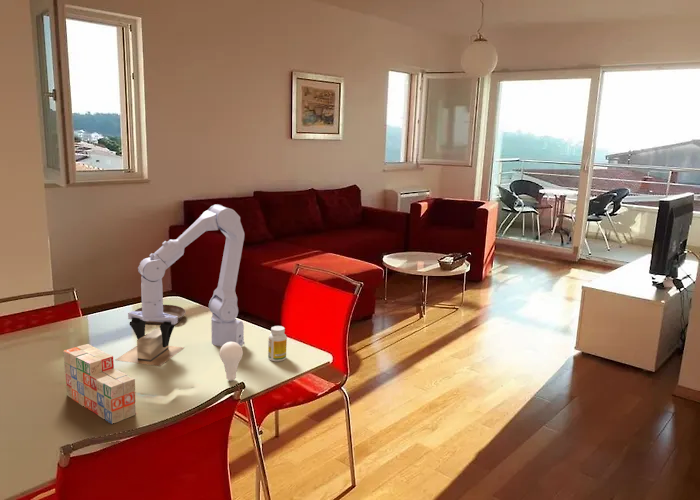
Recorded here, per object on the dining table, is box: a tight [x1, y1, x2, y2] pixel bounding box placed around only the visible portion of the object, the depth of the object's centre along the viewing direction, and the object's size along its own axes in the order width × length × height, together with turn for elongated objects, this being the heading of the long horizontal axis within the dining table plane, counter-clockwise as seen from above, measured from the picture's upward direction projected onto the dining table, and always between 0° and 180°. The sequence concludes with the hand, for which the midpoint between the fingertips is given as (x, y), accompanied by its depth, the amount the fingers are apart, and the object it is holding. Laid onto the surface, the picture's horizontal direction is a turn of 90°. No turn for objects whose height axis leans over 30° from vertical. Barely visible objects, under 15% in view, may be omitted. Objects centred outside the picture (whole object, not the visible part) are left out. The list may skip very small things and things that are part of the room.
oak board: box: [115, 345, 185, 367], centre depth 164 cm, size 14×14×2 cm
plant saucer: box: [134, 304, 187, 326], centre depth 196 cm, size 18×18×3 cm
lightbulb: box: [219, 342, 244, 382], centre depth 151 cm, size 6×6×11 cm
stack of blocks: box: [63, 343, 136, 425], centre depth 135 cm, size 21×6×12 cm, turn 52°
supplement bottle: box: [267, 325, 288, 362], centre depth 167 cm, size 5×5×10 cm
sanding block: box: [136, 328, 170, 362], centre depth 162 cm, size 4×10×6 cm, turn 169°
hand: (153, 344), depth 163 cm, fingers open, 7 cm apart
